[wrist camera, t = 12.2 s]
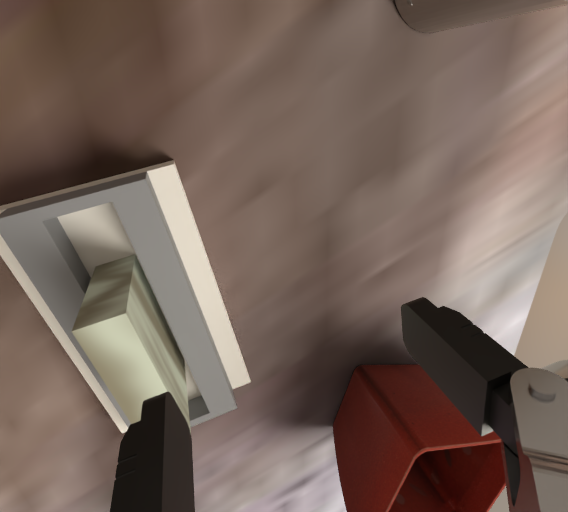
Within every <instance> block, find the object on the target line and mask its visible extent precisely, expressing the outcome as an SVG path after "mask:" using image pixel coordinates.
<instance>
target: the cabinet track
mask: <svg viewBox="0 0 568 512" xmlns="http://www.w3.org/2000/svg"><path fill="white" fill-rule="evenodd" d="M134 254H135V255H136V257H137V259H138V261H139V263H140V266H141V268H142V270H143V272H144V274H145V276H146V278H147V281H148V283H149V285H150V287H151V289H152V291H153V294H154V296H155V298H156V300H157V302H158V304H159V306H160V309H161V311H162V313H163V315H164V317H165V319H166V322H167V324H168V326H169V328H170V330H171V332H172V335H173V337H174V339H175V341H176V343H177V345H178V347H179V350H180V352H181V354H182V356H183V358H184V361H185V372H186V384H187V396H188V407H189V419H190V427H193V426H195V425H198V424H200V423H202V422H205V421H207V420H210V419H212V418H215V417H217V416H220V415H222V414H224V413H227V412H229V411H232V410H234V409H237V405H236V401H235V397H234V393H233V389H235V388H237V387H240V386H242V385H245V384H247V383H250V382H251V381H250V377H249V374H248V371H247V368H246V365H245V362H244V359H243V356H242V354H241V351H240V348H239V345H238V342H237V339H236V336H235V334H234V331H233V328H232V325H231V322H230V319H229V316H228V314H227V311H226V308H225V305H224V302H223V299H222V296H221V294H220V291H219V288H218V285H217V282H216V279H215V276H214V274H213V271H212V268H211V265H210V262H209V259H208V256H207V254H206V251H205V248H204V245H203V242H202V239H201V236H200V234H199V231H198V228H197V225H196V222H195V219H194V216H193V214H192V211H191V208H190V205H189V202H188V199H187V196H186V194H185V191H184V188H183V185H182V182H181V179H180V176H179V174H178V171H177V168H176V165H175V162H174V160H172V161H168V162H164V163H161V164H157V165H153V166H149V167H145V168H142V169H138V170H134V171H130V172H127V173H123V174H119V175H115V176H111V177H108V178H104V179H100V180H96V181H93V182H89V183H85V184H81V185H77V186H74V187H70V188H66V189H62V190H59V191H55V192H51V193H47V194H43V195H40V196H36V197H32V198H28V199H24V200H21V201H17V202H13V203H9V204H6V205H2V206H0V256H1V257H2V259H3V260H4V261H5V263H6V264H7V266H8V267H9V269H10V270H11V272H12V273H13V275H14V276H15V278H16V279H17V280H18V282H19V283H20V285H21V286H22V288H23V289H24V291H25V292H26V294H27V295H28V297H29V298H30V299H31V301H32V302H33V304H34V305H35V307H36V308H37V310H38V311H39V313H40V314H41V316H42V317H43V318H44V320H45V321H46V323H47V324H48V326H49V327H50V329H51V330H52V332H53V333H54V335H55V336H56V337H57V339H58V340H59V342H60V343H61V345H62V346H63V348H64V349H65V351H66V352H67V354H68V355H69V356H70V358H71V359H72V361H73V362H74V364H75V365H76V367H77V368H78V370H79V371H80V373H81V374H82V375H83V377H84V378H85V380H86V381H87V383H88V384H89V386H90V387H91V389H92V390H93V392H94V393H95V394H96V396H97V397H98V399H99V400H100V402H101V403H102V405H103V406H104V408H105V409H106V411H107V412H108V413H109V415H110V416H111V418H112V419H113V421H114V422H115V424H116V425H117V427H118V428H119V430H120V431H121V432H122V433H124V432H126V431H127V430H128V428H129V426H130V424H131V423H130V421H129V420H128V418H127V416H126V415H125V413H124V412H123V410H122V409H121V407H120V406H119V404H118V403H117V401H116V399H115V398H114V396H113V395H112V393H111V392H110V390H109V389H108V387H107V386H106V384H105V382H104V381H103V379H102V378H101V376H100V375H99V373H98V372H97V370H96V369H95V367H94V365H93V364H92V362H91V361H90V359H89V358H88V356H87V355H86V353H85V352H84V350H83V348H82V347H81V345H80V344H79V342H78V341H77V339H76V338H75V336H74V335H73V333H72V329H73V326H74V323H75V321H76V318H77V315H78V313H79V310H80V307H81V305H82V302H83V299H84V297H85V294H86V291H87V288H88V286H89V283H90V280H91V278H92V275H93V272H94V270H95V267H96V266H99V265H102V264H105V263H108V262H112V261H115V260H118V259H121V258H125V257H128V256H131V255H134Z"/></svg>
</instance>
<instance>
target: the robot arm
mask: <svg viewBox="0 0 568 512" xmlns="http://www.w3.org/2000/svg"><path fill="white" fill-rule="evenodd" d="M395 3H396V7H397V9H398V11H399V13H400V15H401V17H402V18H403V19H404V21H405V22H406V23H407V24H408V25H409V26H410V27H412V28H413V29H414V30H417V31H419V32H422V33H434V32H439V31H444V30H449V29H454V28H458V27H464V26H469V25H474V24H479V23H484V22H488V21H493V20H498V19H503V18H507V17H512V16H517V15H522V14H527V13H531V12H536V11H541V10H546V9H550V8H555V7H560V6H565V5H568V0H395ZM401 316H402V332H403V340H404V344H405V346H406V348H407V350H408V352H409V353H410V355H411V356H412V357H413V358H414V359H415V360H416V362H417V363H418V364H419V365H420V366H421V367H422V368H423V370H424V371H425V372H426V373H427V374H428V375H429V377H430V378H431V379H432V380H433V381H434V382H435V384H436V385H437V386H438V387H439V388H440V389H441V390H442V392H443V393H444V394H445V395H446V396H447V397H448V399H449V400H450V401H451V402H452V403H453V404H454V405H455V407H456V408H457V409H458V410H459V411H460V412H461V414H462V415H463V416H464V417H465V418H466V419H467V420H468V422H469V423H470V424H471V425H472V426H473V427H474V429H475V430H476V431H477V432H478V433H479V434H480V435H481V436H484V435H486V434H488V433H490V432H492V431H494V432H495V433H496V434H497V435H498V436H499V437H500V438H501V451H502V458H503V466H504V473H505V481H506V488H507V496H508V503H509V511H510V512H568V378H566V379H564V378H562V377H560V376H559V375H557V374H555V373H553V372H550V371H548V370H544V369H539V368H528V367H527V366H526V365H524V364H523V363H522V362H521V361H519V360H518V359H517V358H516V357H514V356H513V355H512V354H511V353H509V352H508V351H507V350H506V349H504V348H503V347H502V346H501V345H499V344H498V343H497V342H496V341H495V340H493V339H492V338H491V337H490V336H488V335H487V334H486V333H485V334H484V333H483V331H482V330H481V329H480V328H478V327H477V326H476V325H473V323H472V322H471V321H470V320H468V319H467V318H466V317H465V316H463V315H462V314H461V313H460V312H457V311H455V310H452V309H450V308H447V307H445V306H442V307H440V308H437V307H436V306H435V305H434V304H432V303H431V302H430V301H429V300H428V299H426V298H424V297H422V298H419V299H416V300H414V301H411V302H408V303H406V304H403V305H402V306H401ZM115 477H116V480H115V482H114V489H113V495H112V502H111V508H110V512H195V506H194V483H193V460H192V439H191V433H190V429H189V426H188V423H187V421H186V419H185V417H184V415H183V414H182V412H181V410H180V408H179V407H178V405H177V403H176V401H175V400H174V398H173V396H172V394H171V393H170V392H165V393H162V394H160V395H157V396H154V397H152V398H149V399H146V400H144V401H143V404H142V411H141V420H140V421H138V422H136V423H133V424H130V426H129V428H128V430H127V431H126V433H125V435H124V437H123V439H122V441H121V444H120V450H119V457H118V465H117V469H116V476H115Z"/></svg>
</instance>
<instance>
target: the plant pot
mask: <svg viewBox="0 0 568 512" xmlns="http://www.w3.org/2000/svg"><path fill="white" fill-rule="evenodd" d="M333 433H334V443H335V451H336V458H337V465H338V471H339V477H340V482H341V487H342V492H343V497H344V501H345V506H346V510H347V512H488V511H489V510H490V508H491V507H492V505H493V504H494V502H495V501H496V499H497V498H498V496H499V495H500V493H501V492H502V490H503V489H504V487H505V486H506V481H505V473H504V466H503V458H502V451H501V438H500V437H499V436H498V435H497V434H496V433H495V432H494V431H492V432H490V433H488V434H486V435H484V436H481V435H480V434H479V433H478V432H477V431H476V430H475V429H474V427H473V426H472V425H471V424H470V423H469V422H468V420H467V419H466V418H465V417H464V416H463V415H462V414H461V412H460V411H459V410H458V409H457V408H456V407H455V405H454V404H453V403H452V402H451V401H450V400H449V399H448V397H447V396H446V395H445V394H444V393H443V392H442V390H441V389H440V388H439V387H438V386H437V385H436V384H435V382H434V381H433V380H432V379H431V378H430V377H429V375H428V374H427V373H426V372H425V371H424V370H423V368H422V367H421V366H420V365H360V366H358V367H357V368H356V369H355V370H354V373H353V375H352V378H351V380H350V383H349V385H348V388H347V390H346V393H345V395H344V398H343V400H342V403H341V405H340V408H339V411H338V413H337V416H336V418H335V421H334V423H333Z"/></svg>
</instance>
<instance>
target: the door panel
mask: <svg viewBox="0 0 568 512" xmlns="http://www.w3.org/2000/svg"><path fill="white" fill-rule="evenodd" d="M72 333H73V335H74V336H75V338H76V339H77V341H78V342H79V344H80V345H81V347H82V348H83V350H84V352H85V353H86V355H87V356H88V358H89V359H90V361H91V362H92V364H93V365H94V367H95V369H96V370H97V372H98V373H99V375H100V376H101V378H102V379H103V381H104V382H105V384H106V386H107V387H108V389H109V390H110V392H111V393H112V395H113V396H114V398H115V399H116V401H117V403H118V404H119V406H120V407H121V409H122V410H123V412H124V413H125V415H126V416H127V418H128V420H129V421H130V423H131V424H133V423H136V422H138V421H140V420H141V411H142V404H143V401H144V400H146V399H149V398H152V397H154V396H157V395H160V394H162V393H165V392H170V393H171V394H172V396H173V398H174V400H175V401H176V403H177V405H178V407H179V408H180V410H181V412H182V414H183V415H184V417H185V419H186V421H187V423H188V426H189V429H190V419H189V407H188V396H187V384H186V372H185V361H184V358H183V356H182V354H181V352H180V350H179V347H178V345H177V343H176V341H175V339H174V337H173V335H172V332H171V330H170V328H169V326H168V324H167V322H166V319H165V317H164V315H163V313H162V311H161V309H160V306H159V304H158V302H157V300H156V298H155V296H154V294H153V291H152V289H151V287H150V285H149V283H148V281H147V278H146V276H145V274H144V272H143V270H142V268H141V266H140V263H139V261H138V259H137V257H136V255H135V254H134V255H131V256H128V257H125V258H121V259H118V260H115V261H112V262H108V263H105V264H102V265H99V266H96V267H95V270H94V272H93V275H92V278H91V280H90V283H89V286H88V288H87V291H86V294H85V297H84V299H83V302H82V305H81V307H80V310H79V313H78V315H77V318H76V321H75V323H74V326H73V329H72ZM190 433H191V431H190Z"/></svg>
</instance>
